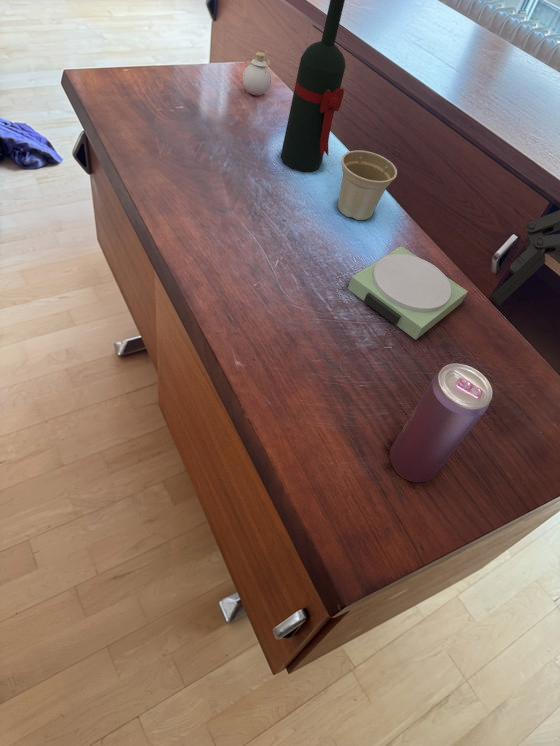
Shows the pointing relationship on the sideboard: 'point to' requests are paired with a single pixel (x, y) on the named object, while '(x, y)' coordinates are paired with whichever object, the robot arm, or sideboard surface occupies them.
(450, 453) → the beverage can
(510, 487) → the sideboard surface
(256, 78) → the ornament
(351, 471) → the sideboard surface
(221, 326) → the sideboard surface
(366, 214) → the flower pot
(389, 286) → the scale
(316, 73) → the wine bottle
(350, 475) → the sideboard surface
